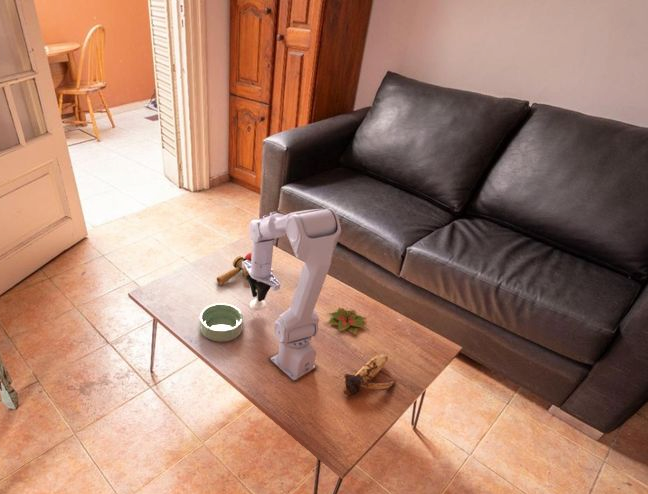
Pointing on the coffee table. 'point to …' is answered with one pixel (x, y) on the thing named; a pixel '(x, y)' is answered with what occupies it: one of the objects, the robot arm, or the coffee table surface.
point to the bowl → (221, 322)
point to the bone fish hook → (366, 377)
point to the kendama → (238, 267)
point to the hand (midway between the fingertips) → (258, 297)
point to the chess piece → (257, 303)
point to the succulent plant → (347, 320)
